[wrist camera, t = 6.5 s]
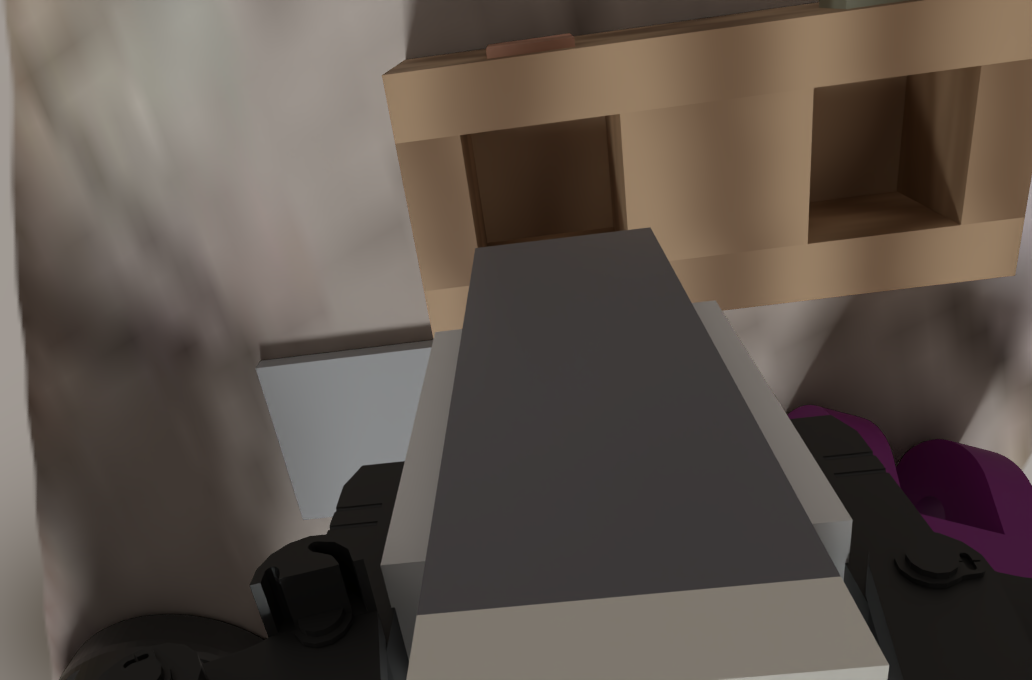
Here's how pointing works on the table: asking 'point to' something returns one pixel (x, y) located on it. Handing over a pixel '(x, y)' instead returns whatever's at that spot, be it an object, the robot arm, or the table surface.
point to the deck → (342, 414)
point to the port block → (734, 148)
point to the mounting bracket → (958, 492)
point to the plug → (615, 492)
